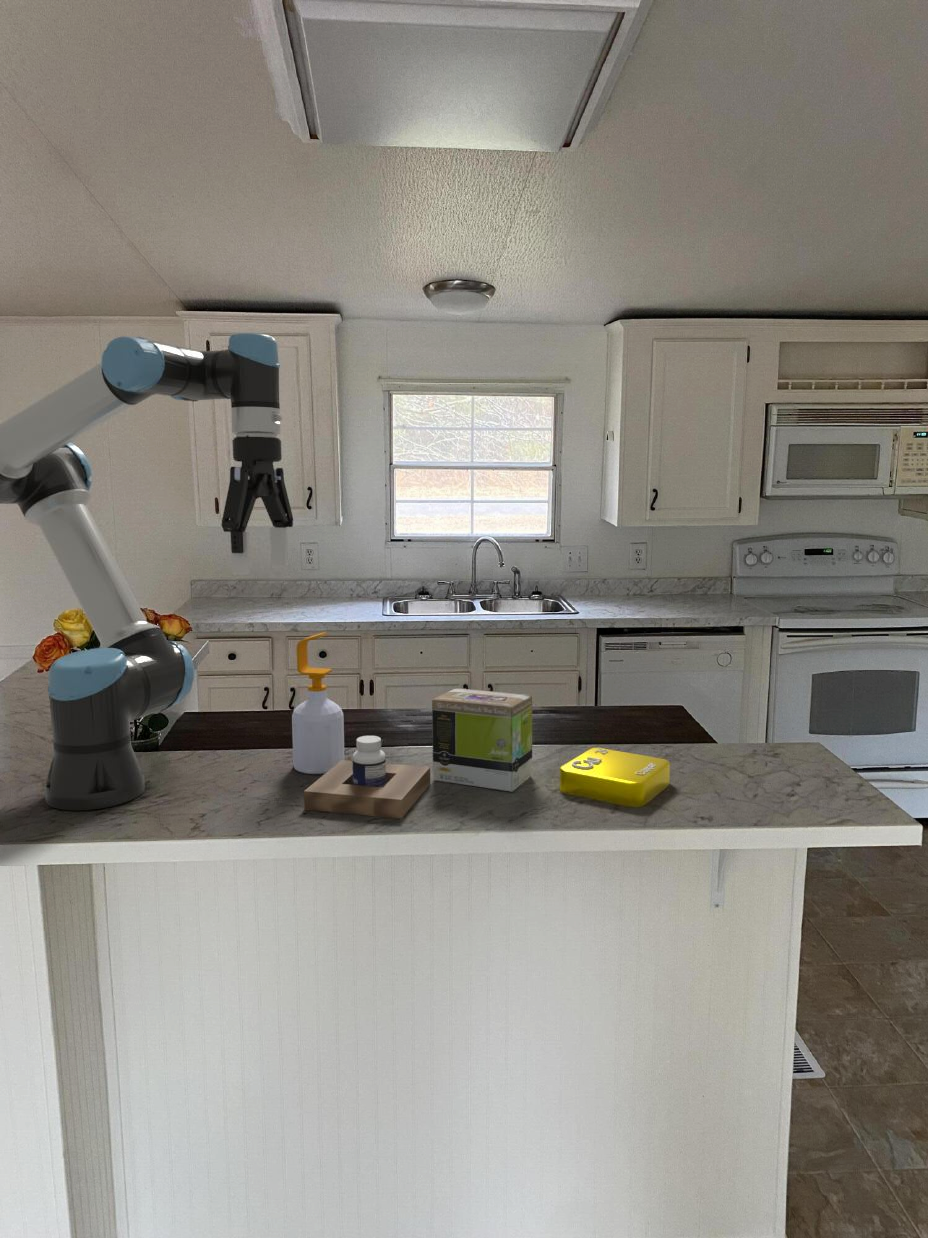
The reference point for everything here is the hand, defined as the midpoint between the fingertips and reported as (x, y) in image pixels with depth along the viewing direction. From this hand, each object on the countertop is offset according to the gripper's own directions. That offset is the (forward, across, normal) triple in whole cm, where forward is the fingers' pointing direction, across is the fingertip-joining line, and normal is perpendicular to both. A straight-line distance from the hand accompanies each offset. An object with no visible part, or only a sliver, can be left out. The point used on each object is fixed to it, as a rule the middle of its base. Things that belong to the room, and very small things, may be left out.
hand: (261, 570), depth 143 cm
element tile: (+37, +14, -57) cm, 69 cm away
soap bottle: (+37, +12, -4) cm, 39 cm away
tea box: (+37, +13, -34) cm, 52 cm away
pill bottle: (+37, 0, -18) cm, 41 cm away
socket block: (+37, 0, -18) cm, 41 cm away
